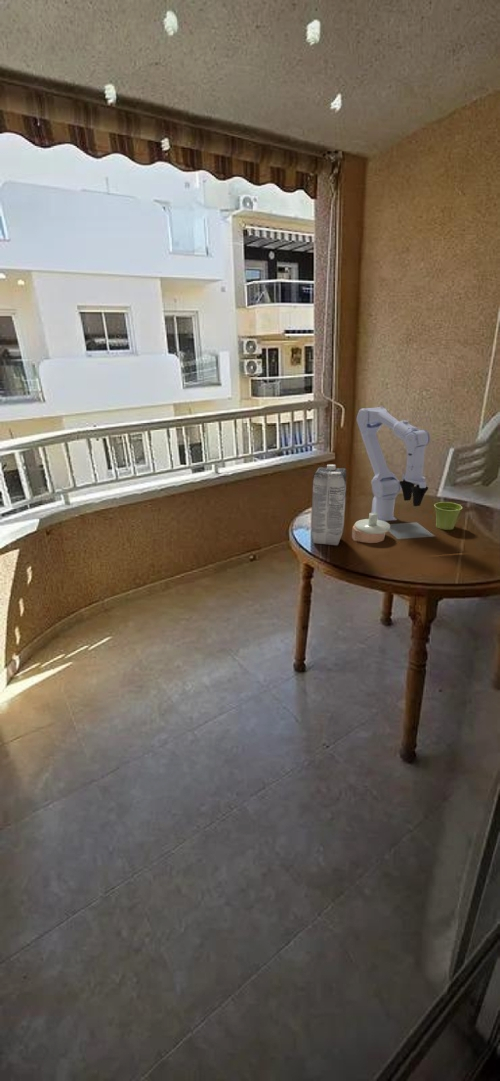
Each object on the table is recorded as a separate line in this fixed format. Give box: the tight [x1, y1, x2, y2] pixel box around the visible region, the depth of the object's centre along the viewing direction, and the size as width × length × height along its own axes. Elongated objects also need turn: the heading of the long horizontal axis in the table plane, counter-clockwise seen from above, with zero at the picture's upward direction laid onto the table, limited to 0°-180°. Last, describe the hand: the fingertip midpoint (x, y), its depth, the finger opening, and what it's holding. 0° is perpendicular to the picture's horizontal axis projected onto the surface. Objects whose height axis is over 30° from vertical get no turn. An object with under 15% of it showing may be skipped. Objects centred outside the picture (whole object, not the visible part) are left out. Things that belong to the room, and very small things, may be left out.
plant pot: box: [433, 501, 463, 531], centre depth 161 cm, size 9×9×9 cm
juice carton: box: [311, 464, 347, 546], centre depth 149 cm, size 9×10×27 cm
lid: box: [354, 512, 391, 534], centre depth 153 cm, size 12×12×5 cm
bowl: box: [351, 523, 386, 544], centre depth 155 cm, size 11×11×4 cm
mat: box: [388, 522, 435, 540], centre depth 160 cm, size 14×14×1 cm
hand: (411, 503), depth 158 cm, fingers open, 7 cm apart
